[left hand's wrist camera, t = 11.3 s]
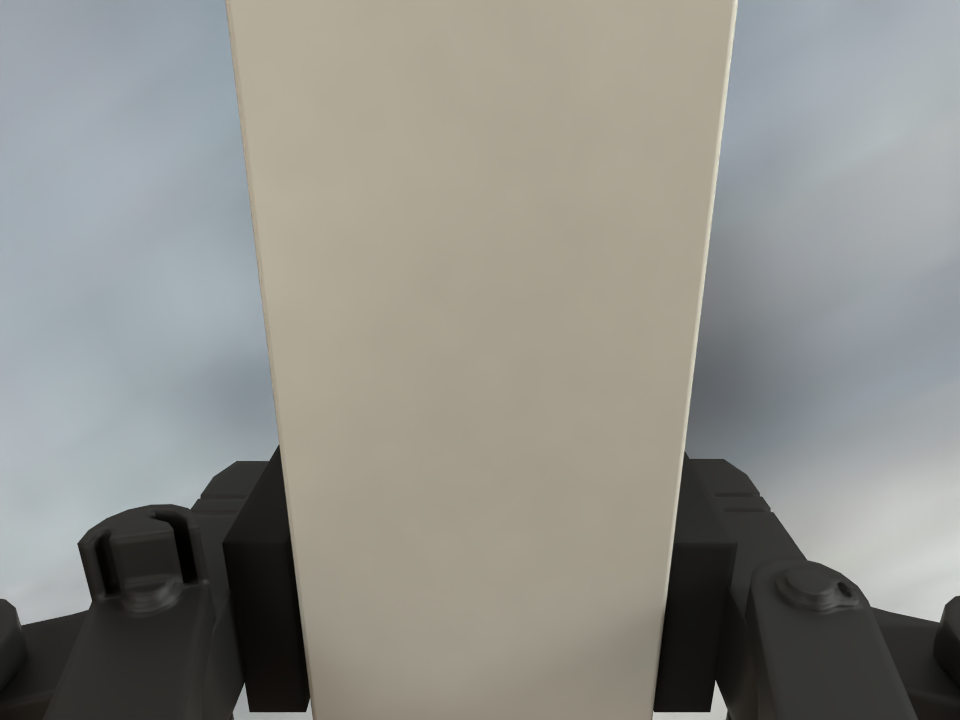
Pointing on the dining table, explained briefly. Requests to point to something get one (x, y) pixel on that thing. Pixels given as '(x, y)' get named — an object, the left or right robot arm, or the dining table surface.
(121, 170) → the dining table surface
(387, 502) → the bar
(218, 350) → the dining table surface
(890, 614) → the left robot arm
